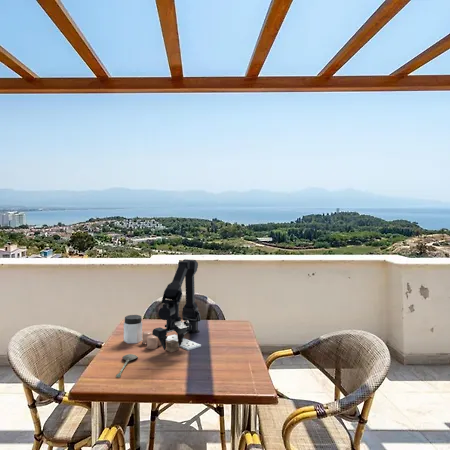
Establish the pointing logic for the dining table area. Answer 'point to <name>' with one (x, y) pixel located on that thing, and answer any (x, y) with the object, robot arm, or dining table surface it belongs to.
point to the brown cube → (172, 345)
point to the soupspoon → (127, 358)
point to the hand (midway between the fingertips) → (172, 347)
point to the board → (184, 342)
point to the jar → (133, 329)
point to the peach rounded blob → (152, 342)
